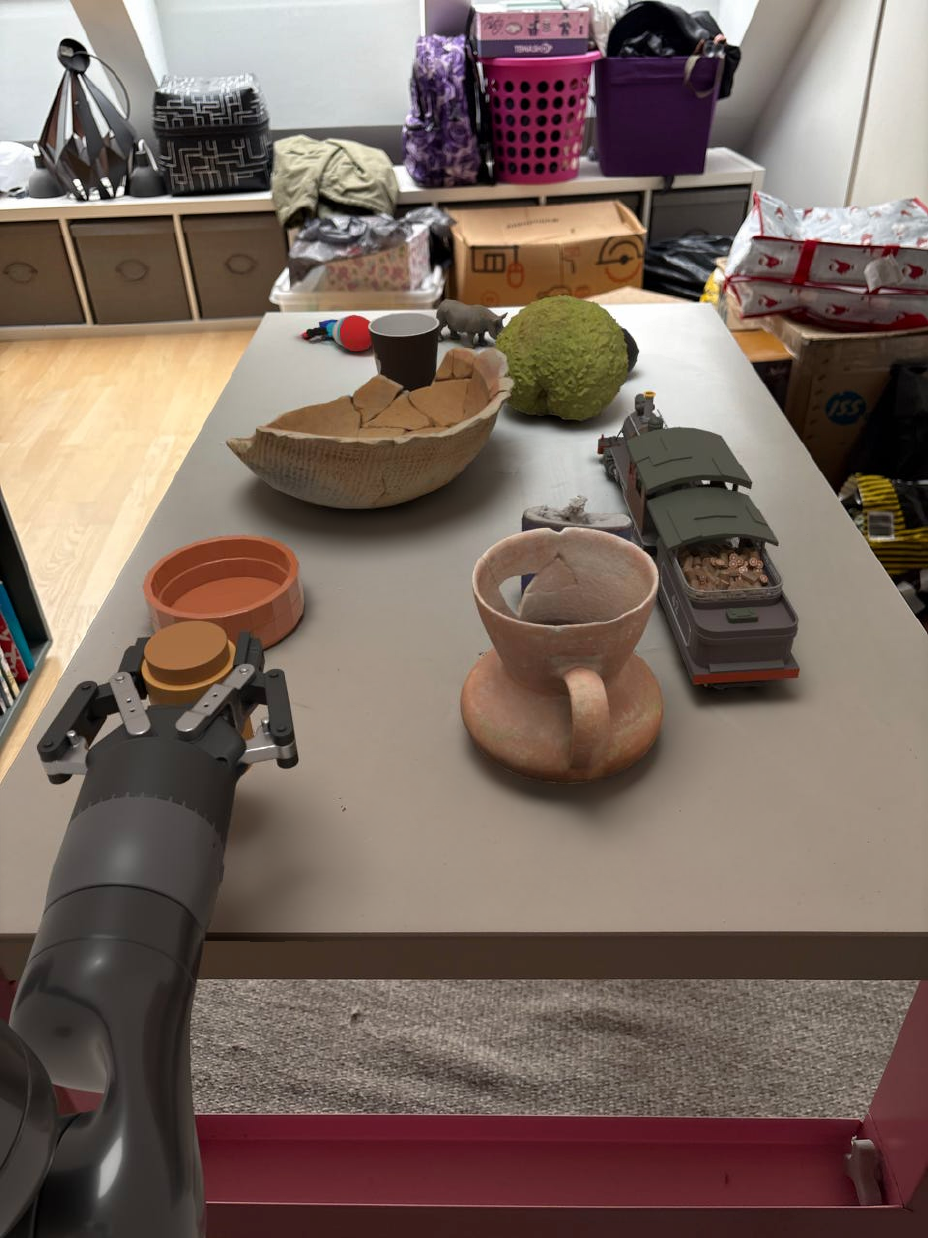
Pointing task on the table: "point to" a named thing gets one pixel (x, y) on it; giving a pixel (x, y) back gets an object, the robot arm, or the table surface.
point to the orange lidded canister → (188, 664)
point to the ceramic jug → (564, 657)
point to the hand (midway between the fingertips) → (197, 645)
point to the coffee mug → (406, 348)
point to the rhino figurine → (468, 321)
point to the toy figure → (345, 332)
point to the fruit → (564, 358)
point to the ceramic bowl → (383, 436)
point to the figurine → (630, 349)
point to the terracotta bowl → (228, 587)
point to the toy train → (704, 549)
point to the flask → (573, 523)
